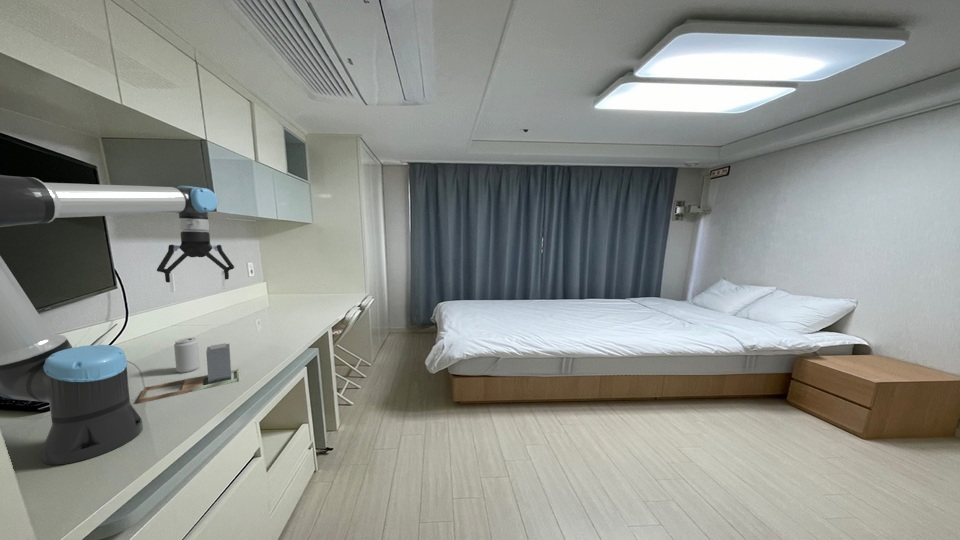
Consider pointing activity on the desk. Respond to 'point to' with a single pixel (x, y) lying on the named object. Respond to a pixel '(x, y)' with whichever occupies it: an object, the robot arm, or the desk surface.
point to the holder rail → (184, 386)
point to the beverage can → (186, 355)
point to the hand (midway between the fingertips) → (199, 289)
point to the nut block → (218, 363)
